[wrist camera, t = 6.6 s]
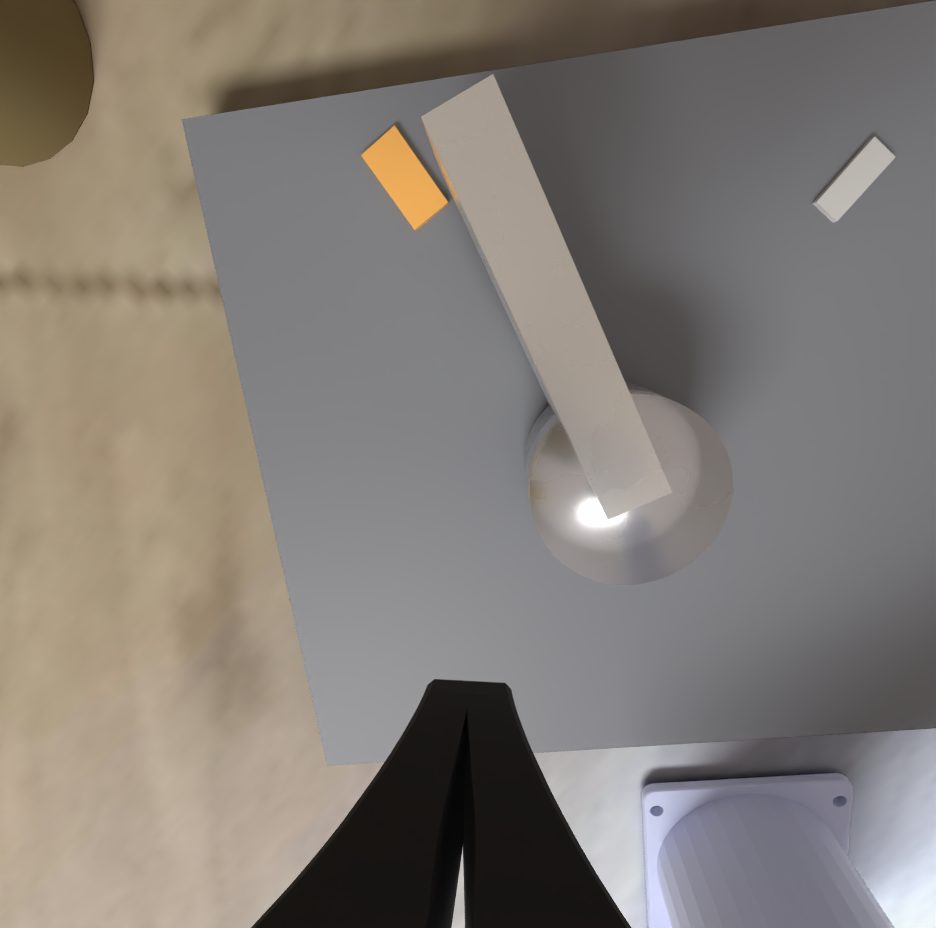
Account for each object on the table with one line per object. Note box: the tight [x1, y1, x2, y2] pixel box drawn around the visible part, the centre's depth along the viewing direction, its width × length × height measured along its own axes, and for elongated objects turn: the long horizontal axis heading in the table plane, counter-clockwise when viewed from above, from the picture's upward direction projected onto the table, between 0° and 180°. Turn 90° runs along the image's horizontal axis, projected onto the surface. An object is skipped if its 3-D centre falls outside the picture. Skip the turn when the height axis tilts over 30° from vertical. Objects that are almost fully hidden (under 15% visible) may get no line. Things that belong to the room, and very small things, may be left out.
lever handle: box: [421, 74, 733, 585], centre depth 14 cm, size 12×5×4 cm, turn 27°
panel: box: [182, 0, 936, 766], centre depth 18 cm, size 22×22×2 cm
